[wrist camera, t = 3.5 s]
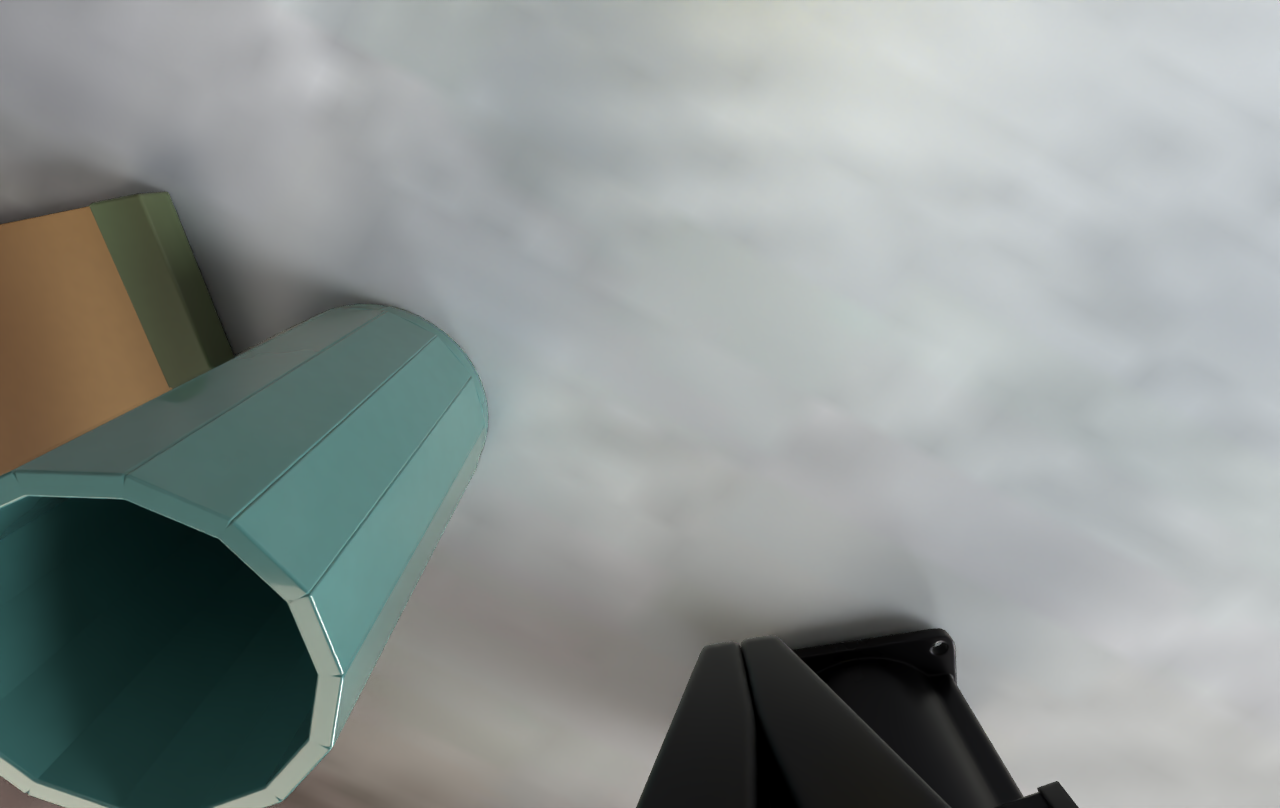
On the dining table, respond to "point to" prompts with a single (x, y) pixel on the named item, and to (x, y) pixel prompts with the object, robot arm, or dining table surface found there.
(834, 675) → the robot arm
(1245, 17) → the dining table surface
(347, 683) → the cup
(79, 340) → the cork mat
